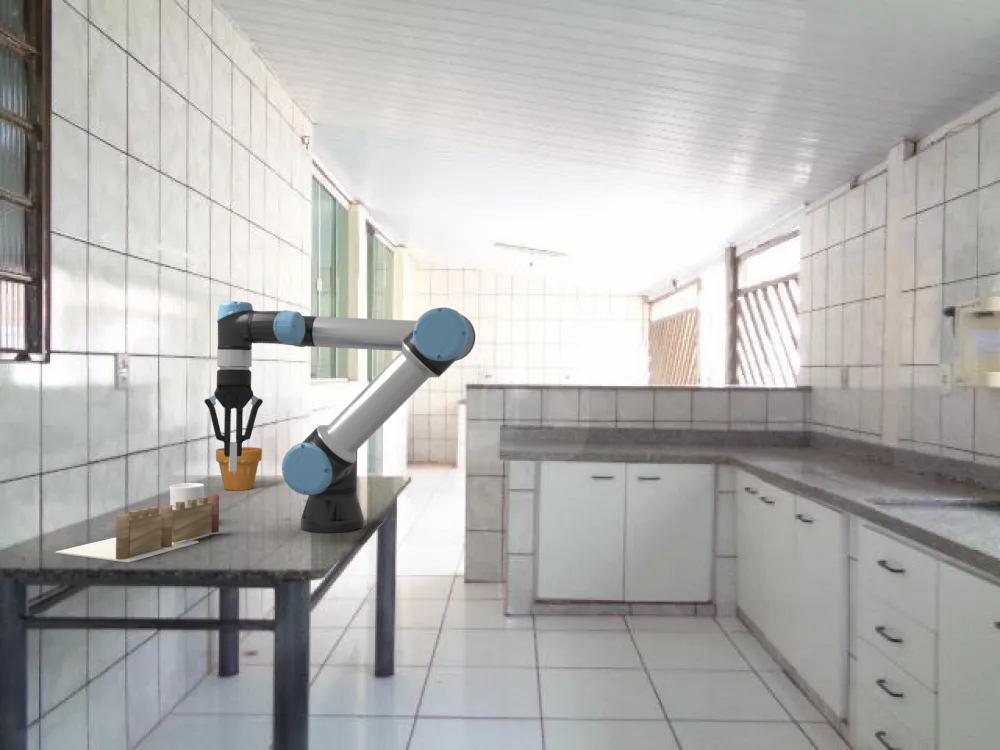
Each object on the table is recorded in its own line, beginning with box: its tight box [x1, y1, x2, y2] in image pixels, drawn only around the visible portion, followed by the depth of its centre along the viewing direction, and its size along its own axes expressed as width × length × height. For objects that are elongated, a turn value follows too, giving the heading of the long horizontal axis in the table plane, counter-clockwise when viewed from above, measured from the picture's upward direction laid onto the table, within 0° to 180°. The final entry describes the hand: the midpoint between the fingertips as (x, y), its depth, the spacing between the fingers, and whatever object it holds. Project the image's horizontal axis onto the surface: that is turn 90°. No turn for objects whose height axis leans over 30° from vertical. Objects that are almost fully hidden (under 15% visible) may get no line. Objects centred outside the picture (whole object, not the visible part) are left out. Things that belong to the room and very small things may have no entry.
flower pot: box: [215, 446, 263, 491], centre depth 243 cm, size 14×14×13 cm
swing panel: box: [172, 493, 220, 543], centre depth 167 cm, size 2×13×8 cm, turn 159°
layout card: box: [54, 536, 200, 563], centre depth 159 cm, size 20×19×1 cm
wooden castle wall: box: [115, 504, 172, 560], centre depth 154 cm, size 2×14×9 cm, turn 159°
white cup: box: [169, 482, 205, 510], centre depth 182 cm, size 8×8×10 cm
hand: (232, 470), depth 172 cm, fingers closed
